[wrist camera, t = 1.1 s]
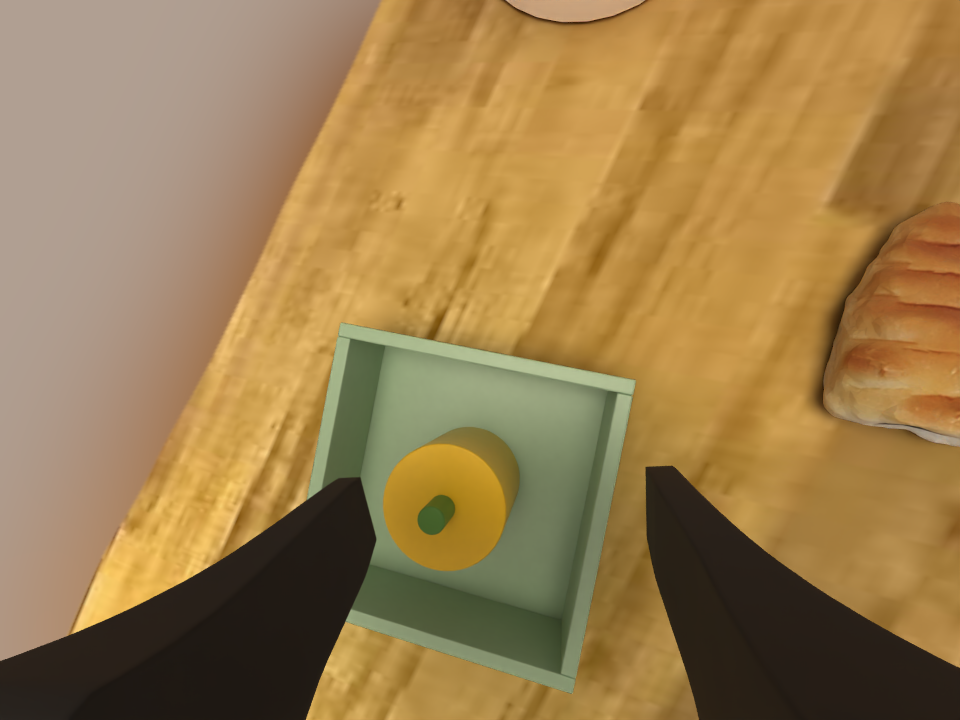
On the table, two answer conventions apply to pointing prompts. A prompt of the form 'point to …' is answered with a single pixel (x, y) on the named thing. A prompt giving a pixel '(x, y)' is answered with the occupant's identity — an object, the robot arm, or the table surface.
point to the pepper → (452, 498)
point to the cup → (573, 8)
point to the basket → (535, 513)
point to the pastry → (904, 334)
